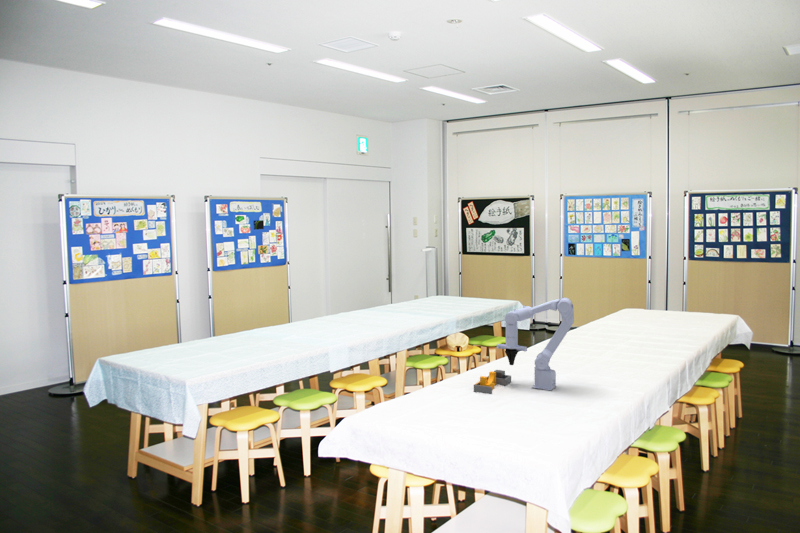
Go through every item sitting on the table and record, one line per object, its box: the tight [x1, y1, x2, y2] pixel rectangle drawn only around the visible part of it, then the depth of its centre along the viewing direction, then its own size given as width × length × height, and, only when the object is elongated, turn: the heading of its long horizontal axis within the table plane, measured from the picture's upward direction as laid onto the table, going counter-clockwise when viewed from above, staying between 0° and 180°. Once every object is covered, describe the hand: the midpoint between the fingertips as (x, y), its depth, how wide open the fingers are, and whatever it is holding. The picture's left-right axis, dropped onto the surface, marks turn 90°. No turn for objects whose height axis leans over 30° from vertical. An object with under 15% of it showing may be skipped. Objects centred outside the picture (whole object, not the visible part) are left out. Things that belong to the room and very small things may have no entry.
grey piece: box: [473, 369, 512, 395], centre depth 279 cm, size 10×24×6 cm, turn 149°
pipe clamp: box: [479, 370, 497, 390], centre depth 277 cm, size 12×4×6 cm, turn 146°
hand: (511, 364), depth 281 cm, fingers closed
